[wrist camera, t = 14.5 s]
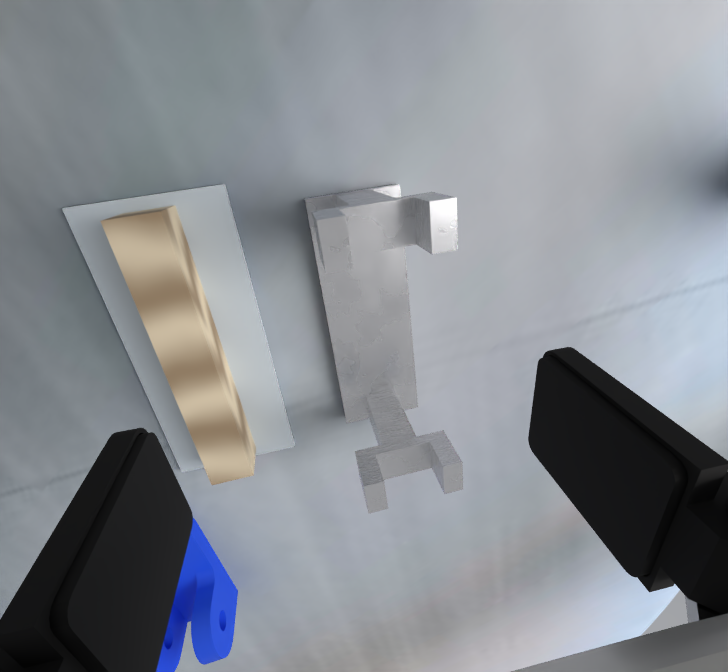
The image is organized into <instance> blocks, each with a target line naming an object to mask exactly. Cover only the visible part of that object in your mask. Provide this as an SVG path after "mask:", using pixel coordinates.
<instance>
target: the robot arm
mask: <svg viewBox="0 0 728 672" xmlns="http://www.w3.org/2000/svg"><path fill="white" fill-rule="evenodd" d="M528 440H529V445H530V448H531V450H532V452H533V453H534V455H535V456H536V457H537V458H538V460H539V461H540V462H541V464H542V465H543V466H544V467H545V469H546V470H547V471H548V472H549V474H550V475H551V476H552V478H553V479H554V480H555V481H556V483H557V484H558V485H559V487H560V488H561V489H562V490H563V492H564V493H565V494H566V495H567V497H568V498H569V499H570V501H571V502H572V503H573V504H574V506H575V507H576V508H577V510H578V511H579V512H580V513H581V515H582V516H583V517H584V518H585V520H586V521H587V522H588V524H589V525H590V526H591V527H592V529H593V530H594V531H595V533H596V534H597V535H598V536H599V538H600V539H601V540H602V541H603V543H604V544H605V545H606V547H607V548H608V549H609V550H610V552H611V553H612V554H613V556H614V557H615V558H616V559H617V561H618V562H619V563H620V564H621V566H622V567H623V568H624V569H625V571H626V572H627V573H628V574H630V575H631V576H633V577H638V579H639V580H640V581H641V582H642V584H643V585H644V586H645V587H646V589H647V590H648V591H649V592H652V591H656V590H660V589H663V588H667V587H671V586H673V585H674V583H675V584H676V585H677V587H678V588H679V589H680V590H681V591H682V592H683V593H684V595H685V599H686V607H687V616H688V624H683V625H680V626H676V627H672V628H668V629H665V630H661V631H658V632H654V633H650V634H646V635H643V636H639V637H635V638H632V639H628V640H624V641H621V642H617V643H614V644H610V645H606V646H603V647H599V648H595V649H592V650H588V651H584V652H581V653H577V654H573V655H570V656H566V657H562V658H559V659H555V660H551V661H548V662H544V663H540V664H537V665H533V666H530V667H526V668H523V669H519V670H515V671H512V672H728V472H727V471H728V461H727V460H726V459H724V458H723V457H722V456H720V455H719V454H718V453H716V452H715V451H713V450H712V449H711V448H709V447H708V446H707V445H705V444H704V443H703V442H701V441H700V440H698V439H697V438H696V437H694V436H693V435H692V434H690V433H689V432H687V431H686V430H685V429H683V428H682V427H681V426H679V425H678V424H676V423H675V422H674V421H672V420H671V419H670V418H668V417H667V416H666V415H664V414H663V413H661V412H660V411H659V410H657V409H656V408H655V407H653V406H652V405H650V404H649V403H648V402H646V401H645V400H644V399H642V398H641V397H640V396H638V395H637V394H635V393H634V392H633V391H631V390H630V389H629V388H627V387H626V386H624V385H623V384H622V383H620V382H619V381H618V380H616V379H615V378H613V377H612V376H611V375H609V374H608V373H607V372H605V371H604V370H603V369H601V368H600V367H598V366H597V365H596V364H594V363H593V362H592V361H590V360H589V359H587V358H586V357H585V356H583V355H582V354H581V353H579V352H578V351H576V350H575V349H573V348H571V347H566V348H561V349H555V350H550V351H547V352H545V354H544V356H543V358H541V359H540V360H539V361H538V366H537V374H536V382H535V390H534V398H533V406H532V414H531V421H530V429H529V437H528ZM192 524H193V516H192V511H191V509H190V507H189V504H188V502H187V500H186V498H185V496H184V494H183V492H182V490H181V487H180V485H179V483H178V481H177V479H176V477H175V475H174V473H173V470H172V468H171V466H170V464H169V462H168V460H167V458H166V456H165V453H164V451H163V449H162V447H161V445H160V443H159V441H158V439H157V437H156V435H155V434H154V433H148V432H147V431H146V430H145V429H144V428H137V429H132V430H127V431H121V432H116V433H114V434H112V435H111V437H110V438H109V440H108V441H107V443H106V445H105V446H104V448H103V450H102V451H101V453H100V455H99V456H98V458H97V460H96V461H95V463H94V465H93V466H92V468H91V470H90V471H89V473H88V475H87V476H86V478H85V480H84V481H83V483H82V485H81V486H80V488H79V490H78V491H77V493H76V495H75V496H74V498H73V500H72V501H71V503H70V505H69V506H68V508H67V510H66V511H65V513H64V515H63V516H62V518H61V520H60V521H59V523H58V525H57V526H56V528H55V530H54V531H53V533H52V535H51V536H50V538H49V539H48V541H47V543H46V544H45V546H44V548H43V549H42V551H41V553H40V554H39V556H38V558H37V559H36V561H35V563H34V564H33V566H32V568H31V569H30V571H29V573H28V574H27V576H26V578H25V579H24V581H23V583H22V584H21V586H20V588H19V589H18V591H17V593H16V594H15V596H14V598H13V599H12V601H11V603H10V604H9V606H8V608H7V609H6V611H5V613H4V614H3V616H2V618H1V619H0V672H156V670H157V666H158V662H159V658H160V654H161V650H162V646H163V642H164V638H165V634H166V630H167V626H168V622H169V618H170V614H171V610H172V606H173V602H174V598H175V594H176V590H177V586H178V582H179V578H180V574H181V570H182V566H183V562H184V558H185V554H186V550H187V546H188V541H189V537H190V533H191V529H192Z"/></svg>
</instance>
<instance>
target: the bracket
mask: <svg viewBox="0 0 728 672" xmlns="http://www.w3.org/2000/svg"><path fill="white" fill-rule="evenodd" d="M237 595H238V590H237V589H236V587H235V585H234V584H233V582H232V580H231V579H230V577H229V575H228V574H227V572H226V570H225V569H224V567H223V565H222V564H221V562H220V560H219V559H218V557H217V555H216V554H215V552H214V550H213V549H212V547H211V545H210V544H209V542H208V540H207V539H206V537H205V535H204V534H203V532H202V530H201V529H200V527H199V525H198V524H197V522H196V521H195V519H194V518H193V524H192V529H191V533H190V537H189V541H188V546H187V550H186V554H185V558H184V562H183V566H182V570H181V574H180V578H179V582H178V586H177V590H176V594H175V598H174V602H173V606H172V610H171V614H170V618H169V622H168V626H167V630H166V634H165V638H164V642H163V646H162V650H161V654H160V658H159V662H158V666H157V670H156V672H174V671H175V670H176V668H177V666H178V663H179V660H180V656H181V652H182V647H183V642H184V637H185V632H186V627H187V622H189V621H191V634H192V643H193V648H194V651H195V654H196V657H197V659H198V660H199V662H200V663H201V664H208V663H211V662H214V661H217V660H220V659H223V658H225V657H227V656H228V654H229V652H230V650H231V647H232V642H233V634H234V624H235V615H236V605H237Z"/></svg>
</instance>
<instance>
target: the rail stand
mask: <svg viewBox="0 0 728 672" xmlns="http://www.w3.org/2000/svg"><path fill="white" fill-rule="evenodd" d="M304 199H305V205H306V210H307V215H308V221H309V226H310V231H311V237H312V242H313V247H314V253H315V258H316V264H317V269H318V274H319V280H320V285H321V290H322V296H323V301H324V306H325V312H326V317H327V322H328V328H329V333H330V339H331V344H332V349H333V355H334V360H335V365H336V371H337V376H338V381H339V387H340V392H341V397H342V403H343V408H344V414H345V418H346V422H347V423H350V422H355V421H359V420H364V419H368V418H369V419H370V422H371V425H372V428H373V431H374V434H375V437H376V440H377V443H378V446H375V447H371V448H367V449H363V450H358V451H355V453H356V459H357V465H358V470H359V476H360V480H361V484H362V488H363V492H364V496H365V501H366V505H367V509H368V513H373V512H377V511H381V510H384V509H388V505H387V498H386V491H385V485H384V480H385V479H389V478H393V477H397V476H401V475H405V474H409V473H413V472H417V471H421V470H425V469H429V468H432V469H433V471H434V473H435V475H436V478H437V480H438V482H439V484H440V486H441V488H442V490H443V492H444V494H447V493H451V492H454V491H458V490H462V489H463V471H462V461H461V459H460V457H459V456H458V454H457V452H456V451H455V449H454V447H453V446H452V444H451V442H450V441H449V439H448V437H447V436H446V434H445V432H444V430H443V431H439V432H434V433H430V434H426V435H422V436H418V437H416V435H415V433H414V431H413V429H412V427H411V425H410V423H409V420H408V418H407V416H406V414H405V412H404V410H407V409H412V408H416V407H418V401H417V389H416V377H415V365H414V353H413V341H412V328H411V316H410V304H409V292H408V280H407V267H406V255H405V246H411V245H416V244H417V245H418V246H420V247H421V248H423V249H424V250H426V251H428V252H429V253H431V254H438V253H443V252H449V251H454V250H458V240H457V197H453V196H448V195H443V194H439V193H434V192H429V193H423V194H416V195H410V196H404V197H401V194H400V185H398V184H393V185H386V186H380V187H374V188H367V189H361V190H354V191H348V192H342V193H335V194H329V195H323V196H316V197H310V198H304Z"/></svg>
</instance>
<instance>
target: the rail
mask: <svg viewBox="0 0 728 672" xmlns="http://www.w3.org/2000/svg"><path fill="white" fill-rule="evenodd" d="M101 224H102V226H103V229H104V231H105V233H106V236H107V238H108V240H109V243H110V245H111V248H112V250H113V252H114V255H115V257H116V259H117V262H118V264H119V267H120V269H121V271H122V274H123V276H124V278H125V281H126V283H127V285H128V288H129V290H130V293H131V295H132V297H133V300H134V302H135V304H136V307H137V309H138V312H139V314H140V316H141V319H142V321H143V323H144V326H145V328H146V330H147V333H148V335H149V338H150V340H151V342H152V345H153V347H154V349H155V352H156V354H157V357H158V359H159V361H160V364H161V366H162V368H163V371H164V373H165V375H166V378H167V380H168V383H169V385H170V387H171V390H172V392H173V394H174V397H175V399H176V402H177V404H178V406H179V409H180V411H181V413H182V416H183V418H184V420H185V423H186V425H187V428H188V430H189V432H190V435H191V437H192V439H193V442H194V444H195V447H196V449H197V451H198V454H199V456H200V458H201V461H202V463H203V465H204V468H205V470H206V473H207V475H208V477H209V480H210V482H211V484H212V485H215V484H219V483H223V482H228V481H232V480H236V479H240V478H244V477H248V476H253V475H254V465H255V454H256V446H255V443H254V440H253V437H252V434H251V431H250V428H249V425H248V422H247V419H246V416H245V413H244V410H243V407H242V404H241V401H240V398H239V395H238V392H237V389H236V386H235V383H234V380H233V377H232V374H231V371H230V368H229V365H228V362H227V359H226V356H225V353H224V350H223V347H222V344H221V341H220V338H219V335H218V332H217V329H216V326H215V323H214V320H213V317H212V314H211V311H210V308H209V305H208V302H207V299H206V296H205V293H204V290H203V287H202V284H201V281H200V278H199V275H198V272H197V269H196V266H195V263H194V260H193V257H192V254H191V251H190V248H189V245H188V242H187V239H186V236H185V233H184V230H183V227H182V224H181V221H180V218H179V215H178V212H177V209H176V206H175V205H174V206H167V207H161V208H154V209H148V210H142V211H135V212H129V213H122V214H119V215H116V216H113V217H110V218H108V219H105V220H102V221H101Z"/></svg>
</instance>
